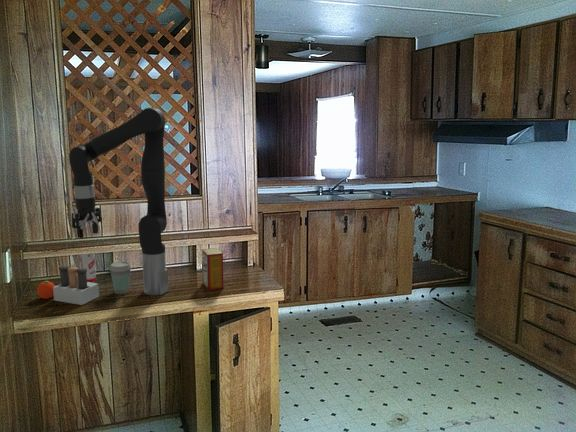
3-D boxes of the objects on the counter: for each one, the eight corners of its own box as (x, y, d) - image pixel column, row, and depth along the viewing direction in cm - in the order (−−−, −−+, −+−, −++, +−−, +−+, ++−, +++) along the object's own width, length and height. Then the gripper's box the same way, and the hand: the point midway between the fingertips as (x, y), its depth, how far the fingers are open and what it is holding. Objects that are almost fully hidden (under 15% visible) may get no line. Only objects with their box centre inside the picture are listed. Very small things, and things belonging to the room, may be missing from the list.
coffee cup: (132, 294, 216) (131, 266, 213) (110, 296, 213) (109, 267, 211) (132, 287, 224) (131, 260, 221) (111, 289, 221) (109, 261, 219)
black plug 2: (90, 287, 208) (88, 268, 207) (83, 290, 205) (82, 271, 203) (82, 286, 209) (81, 267, 208) (75, 289, 206) (74, 270, 204)
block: (99, 296, 213) (98, 283, 212) (82, 305, 204) (81, 291, 202) (72, 292, 217) (71, 279, 216) (54, 300, 208) (52, 287, 207)
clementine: (40, 294, 214) (38, 278, 212) (58, 293, 215) (57, 277, 214) (35, 302, 206) (34, 284, 205) (54, 300, 208) (53, 283, 206)
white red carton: (98, 279, 233) (96, 245, 229) (92, 284, 227) (89, 248, 223) (85, 279, 233) (82, 244, 230) (78, 284, 227) (75, 248, 224)
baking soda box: (202, 283, 230) (202, 248, 226) (217, 281, 232) (216, 247, 229) (208, 290, 221) (207, 254, 218) (223, 288, 224) (222, 252, 220)
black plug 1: (72, 285, 211) (71, 266, 209) (65, 288, 207) (64, 269, 206) (65, 283, 212) (63, 265, 211) (58, 286, 209) (56, 268, 207)
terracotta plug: (81, 286, 210) (80, 267, 208) (74, 289, 206) (73, 270, 204) (73, 285, 211) (72, 266, 209) (66, 288, 207) (65, 269, 206)
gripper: (79, 199, 202) (83, 240, 205) (104, 193, 215) (107, 232, 218) (64, 198, 204) (68, 239, 208) (89, 193, 218) (92, 231, 221)
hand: (88, 235), depth 213 cm, fingers open, 8 cm apart
